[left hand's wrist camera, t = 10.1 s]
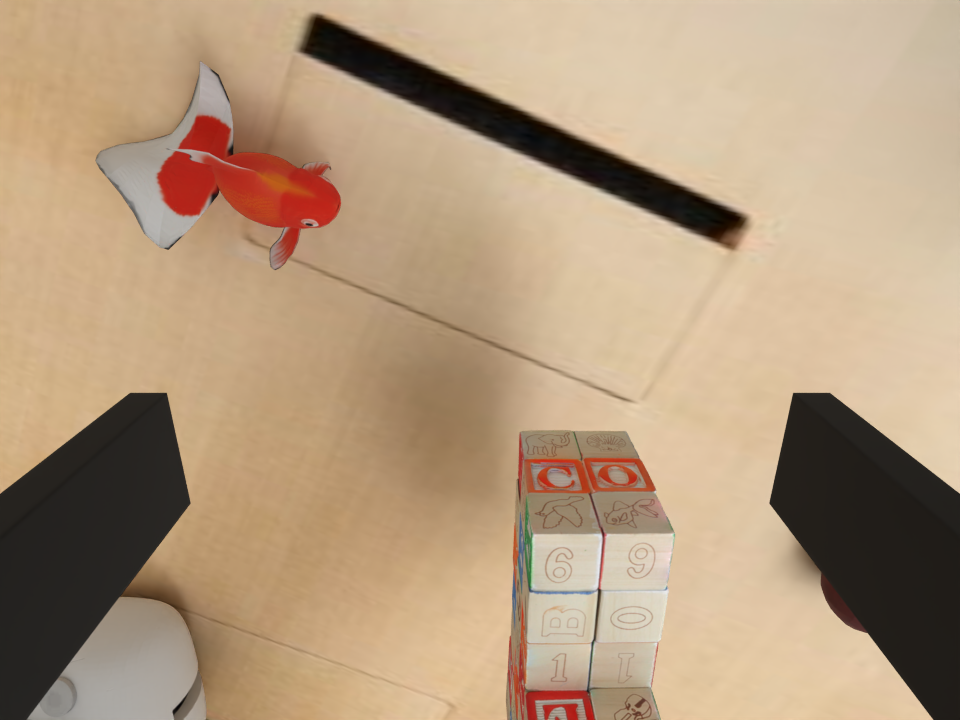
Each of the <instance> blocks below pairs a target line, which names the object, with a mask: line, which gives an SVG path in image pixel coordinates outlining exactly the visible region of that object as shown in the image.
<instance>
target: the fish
mask: <svg viewBox="0 0 960 720" xmlns="http://www.w3.org/2000/svg"><path fill="white" fill-rule="evenodd" d="M96 163H97V165H98V166H99V168H100V170H101V171H102V172H103V173H104V174H105V176H106V177H107V178H108V179H109V180H110V182H111V183H112V184H113V185H114V186H115V188H116V189H117V190H118V191H119V193H120V194H121V195H122V197H123V198H124V200H125V201H126V203H127V204H128V205H129V207H130V208H131V210H132V211H133V213H134V214H135V216H136V218H137V220H138V222H139V224H140V226H141V228H142V230H143V232H144V234H145V235H146V236H148V237H149V238H150V239H151V240H152V241H153V242H154V243H155V244H156V245H158V246H159V247H160V248H164V249H168V250H169V249H170V248H171V247H172V246H173V245H174V244H175V243H176V242H177V241H178V240H179V239H180V238H181V237H182V236H183V235H184V234H185V233H186V232H187V231H188V230H189V229H190V228H191V227H192V226H193V225H194V224H195V222H196V221H197V220H198V219H199V218H200V217H201V215H202V214H203V213H204V212H205V210H206V209H207V208H208V207H209V206H210V204H211V203H212V202H213V201H214V199H215V198H216V197H217V196H218V193H219V190H220V191H221V193H222V194H223V196H224V197H225V199H226V200H227V201H228V202H229V203H230V204H231V205H232V207H233V208H235V209H236V210H237V211H238V212H239V213H241V214H242V215H244V216H245V217H247V218H249V219H251V220H253V221H256V222H258V223H261V224H264V225H267V226H271V227H284V229H283V232H282V234H281V237H280V238H279V239H278V240H277V241H276V242H275V243H274V244H273V246H272V247H271V249H270V265H271V267H272V268H273V269H274V270H276V269H279V268H280V267H281V266H283V265H284V264H285V262H286V261H287V259H288V258H289V257H290V256H291V255H292V254H293V252H294V250H295V247H296V245H297V243H298V239H299V235H300V230H301V229H305V228H319V227H323V226H326V225H327V224H329V223H330V222H331V221H332V220H334V219H335V218H336V216H337V214H338V212H339V211H340V206H341V199H340V195H339V193H338V191H337V190H336V188H335V187H334V186H333V185H332V183H331V182H330V180H329V179H327V178H326V177H324V176H321V175H322V174H323V173H324V172H325V170H326V169H327V168H328V167H329V168H330V164H329V163H325V162H313V163H308V164H305V165H304V166H303V167H302V168H300V169H298V168H296V167H295V166H293V165H292V164H290V163H289V162H287V161H285V160H284V159H282V158H279V157H276V156H273V155H269V154H264V153H249V152H244V153H237V154H234V155H233V121H232V113H231V108H230V102H229V99H228V96H227V94H226V91H225V89H224V87H223V84H222V82H221V79H220V77H219V75H218V74H217V73H216V72H214V71H213V70H212V69H210V68H209V67H208V66H206V65H205V64H204V63H202V62H201V61H200V72H199V77H198V80H197V84H196V87H195V91H194V95H193V98H192V101H191V103H190V105H189V108H188V110H187V112H186V114H185V116H184V118H183V120H182V121H181V123H180V124H179V125H178V127H177V128H176V129H175V131H174V132H173V133H172V134H169V135H166V136H163V137H159V138H156V139H152V140H149V141H145V142H136V143H128V144H121V145H116V146H114V147H111V148H108V149H105V150H102V151H100V153H99V154H98V155H97V157H96ZM330 170H331V168H330Z"/></svg>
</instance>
